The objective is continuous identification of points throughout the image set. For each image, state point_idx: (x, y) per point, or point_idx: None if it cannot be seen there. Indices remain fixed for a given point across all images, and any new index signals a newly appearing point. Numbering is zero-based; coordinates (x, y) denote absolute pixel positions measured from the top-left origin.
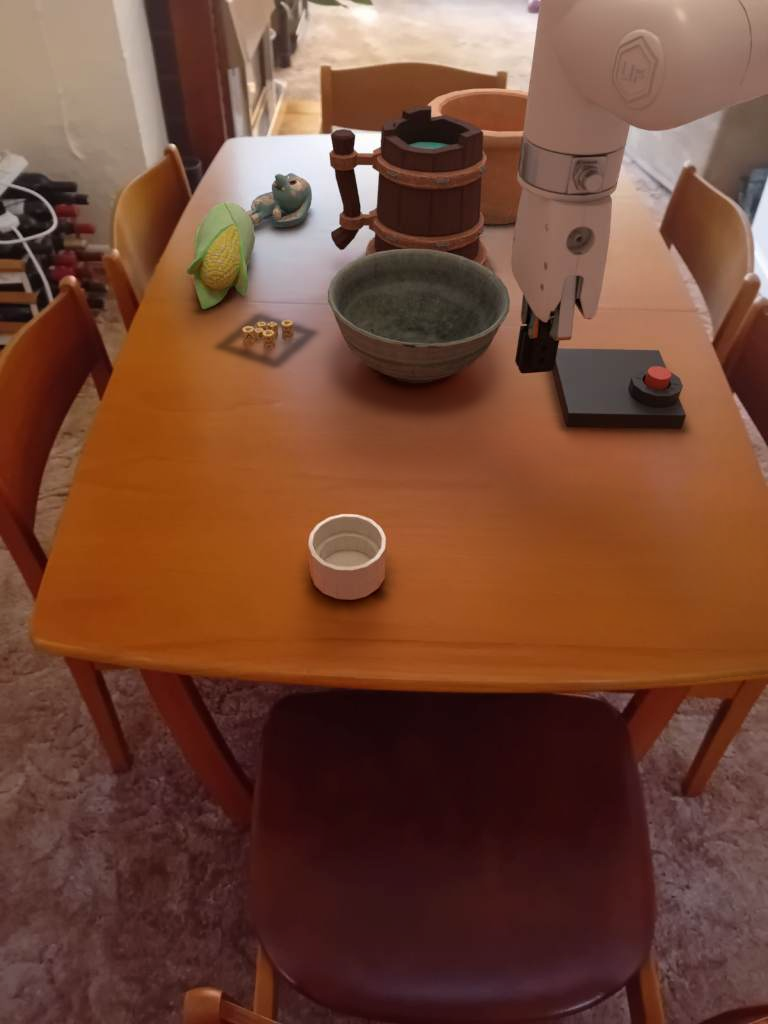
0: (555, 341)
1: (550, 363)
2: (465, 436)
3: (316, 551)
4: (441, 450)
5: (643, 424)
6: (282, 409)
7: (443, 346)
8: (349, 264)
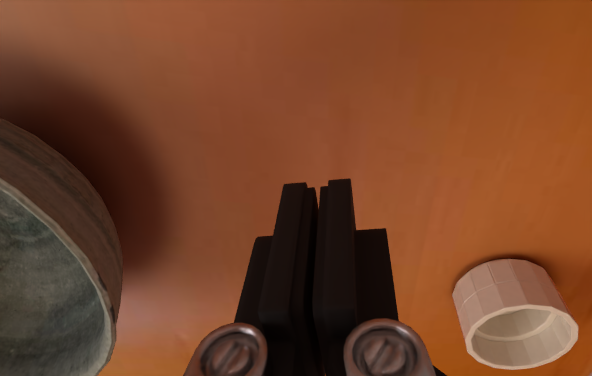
0: (354, 283)
1: (352, 208)
2: (212, 130)
3: (491, 338)
4: (254, 169)
5: None
6: (192, 332)
7: (92, 264)
8: None
